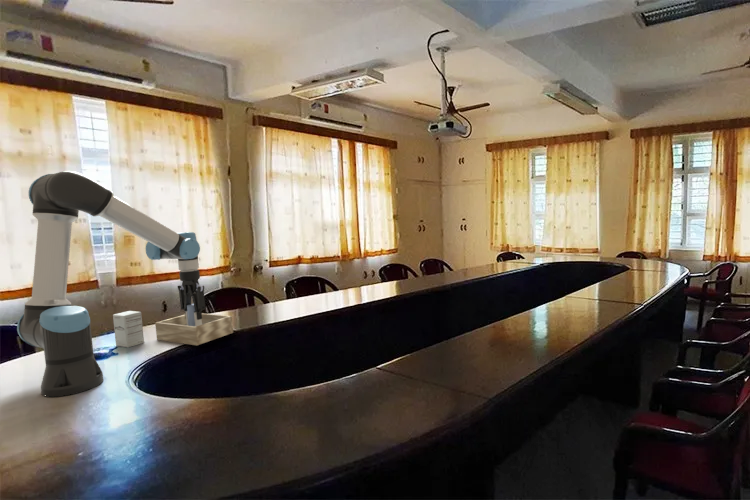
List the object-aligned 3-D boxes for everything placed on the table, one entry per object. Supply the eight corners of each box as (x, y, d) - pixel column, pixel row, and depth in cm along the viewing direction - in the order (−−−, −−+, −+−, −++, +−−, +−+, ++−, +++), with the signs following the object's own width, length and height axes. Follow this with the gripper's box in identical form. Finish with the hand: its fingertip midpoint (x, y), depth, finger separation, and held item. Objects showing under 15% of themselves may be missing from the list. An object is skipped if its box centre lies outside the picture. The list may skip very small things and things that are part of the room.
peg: (194, 338, 175) (191, 306, 174) (187, 337, 177) (184, 305, 176) (203, 335, 179) (200, 304, 178) (196, 334, 181) (193, 303, 180)
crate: (196, 345, 164) (195, 327, 164) (156, 339, 176) (155, 322, 175) (233, 332, 180) (231, 316, 179) (194, 328, 191) (192, 312, 191)
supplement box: (115, 346, 170) (111, 314, 169) (133, 340, 176) (130, 310, 175) (127, 348, 166) (123, 315, 165) (145, 342, 173) (141, 311, 172)
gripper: (211, 269, 174) (216, 326, 176) (183, 268, 183) (188, 322, 185) (196, 271, 168) (201, 330, 170) (167, 271, 176) (172, 327, 178)
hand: (194, 326), depth 177 cm, fingers closed on peg, 4 cm apart
